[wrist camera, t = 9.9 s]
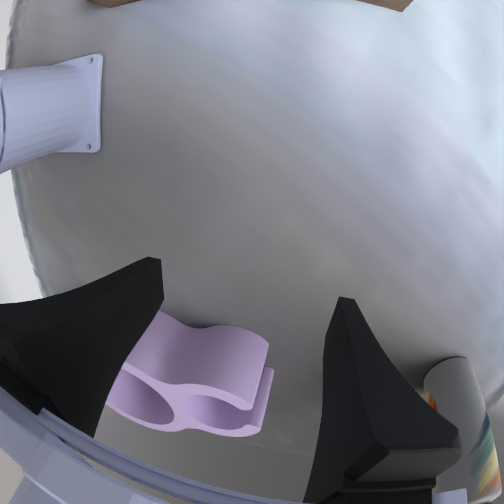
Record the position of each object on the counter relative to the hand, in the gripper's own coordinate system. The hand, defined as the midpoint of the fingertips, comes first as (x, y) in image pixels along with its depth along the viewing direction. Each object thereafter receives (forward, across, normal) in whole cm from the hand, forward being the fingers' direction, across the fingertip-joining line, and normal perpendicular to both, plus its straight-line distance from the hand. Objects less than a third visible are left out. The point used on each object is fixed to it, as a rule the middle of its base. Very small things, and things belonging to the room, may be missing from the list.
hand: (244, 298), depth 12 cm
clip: (+10, +8, +17) cm, 21 cm away
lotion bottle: (+10, -20, +13) cm, 26 cm away
